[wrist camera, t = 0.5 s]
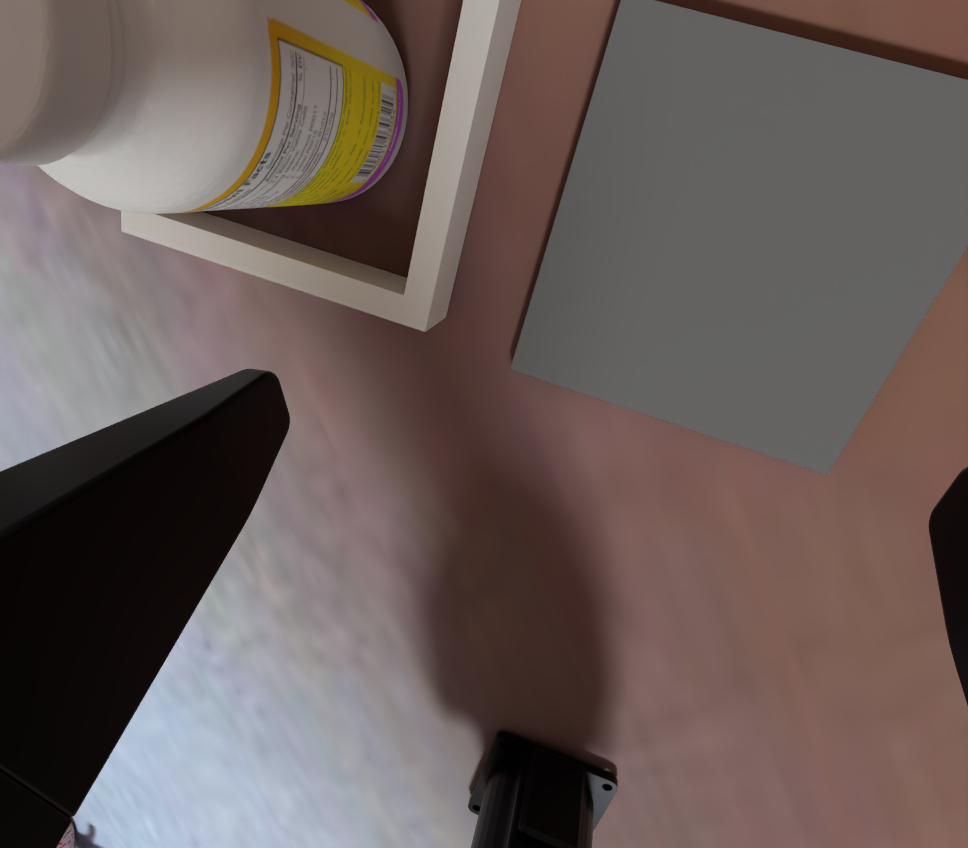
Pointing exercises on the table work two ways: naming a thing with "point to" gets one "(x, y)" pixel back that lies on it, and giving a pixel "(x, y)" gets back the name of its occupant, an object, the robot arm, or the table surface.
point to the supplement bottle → (201, 100)
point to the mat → (748, 231)
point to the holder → (442, 213)
